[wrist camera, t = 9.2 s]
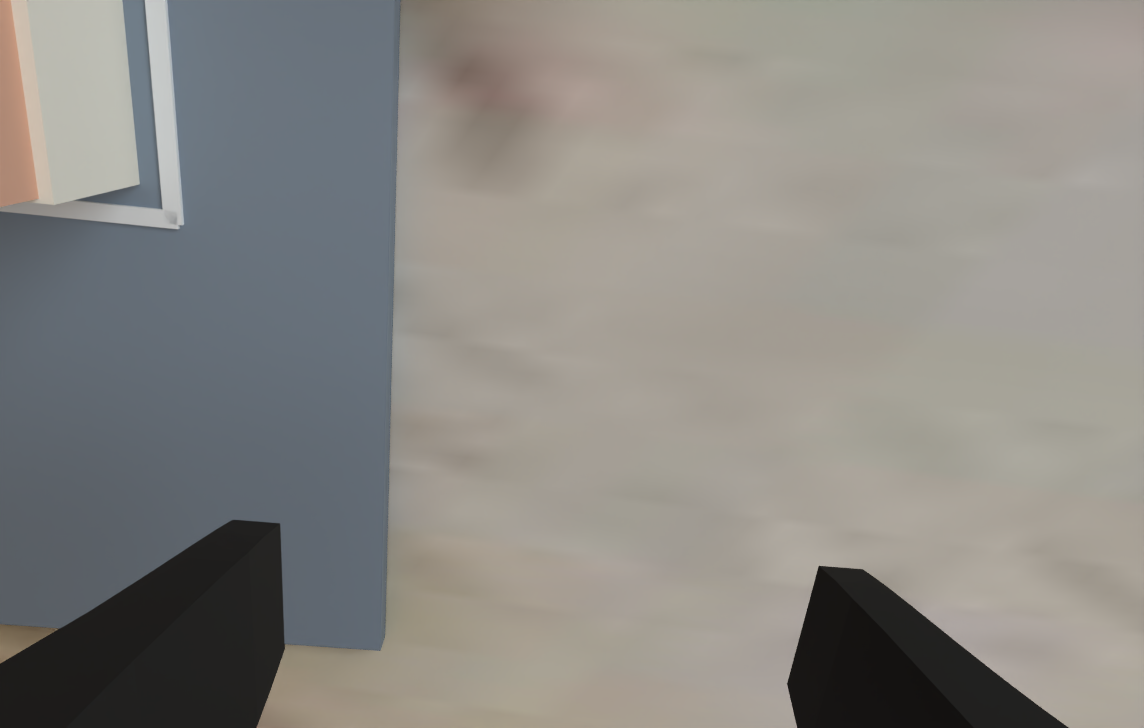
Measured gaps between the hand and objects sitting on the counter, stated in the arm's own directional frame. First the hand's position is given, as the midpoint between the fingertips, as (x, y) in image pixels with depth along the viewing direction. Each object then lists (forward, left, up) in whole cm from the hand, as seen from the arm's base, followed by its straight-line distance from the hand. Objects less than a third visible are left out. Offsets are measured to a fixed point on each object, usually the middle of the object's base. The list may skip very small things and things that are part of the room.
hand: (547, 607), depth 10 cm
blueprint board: (+1, +12, -9) cm, 15 cm away
